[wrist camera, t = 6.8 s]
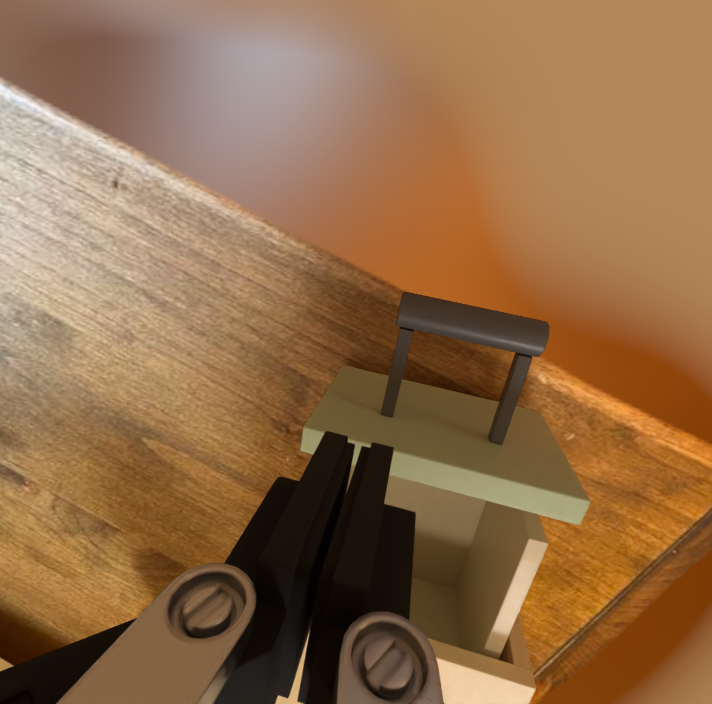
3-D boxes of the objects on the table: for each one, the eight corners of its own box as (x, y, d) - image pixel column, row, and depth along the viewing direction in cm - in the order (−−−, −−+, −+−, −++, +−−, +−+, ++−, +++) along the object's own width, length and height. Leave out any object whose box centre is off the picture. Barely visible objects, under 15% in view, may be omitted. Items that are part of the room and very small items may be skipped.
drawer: (360, 267, 22) (324, 288, 15) (577, 312, 21) (656, 360, 13) (310, 541, 28) (267, 653, 21) (474, 589, 27) (489, 726, 20)
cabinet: (315, 478, 28) (258, 601, 19) (501, 529, 26) (536, 689, 17) (289, 628, 32) (233, 784, 23) (445, 679, 31) (449, 865, 22)
